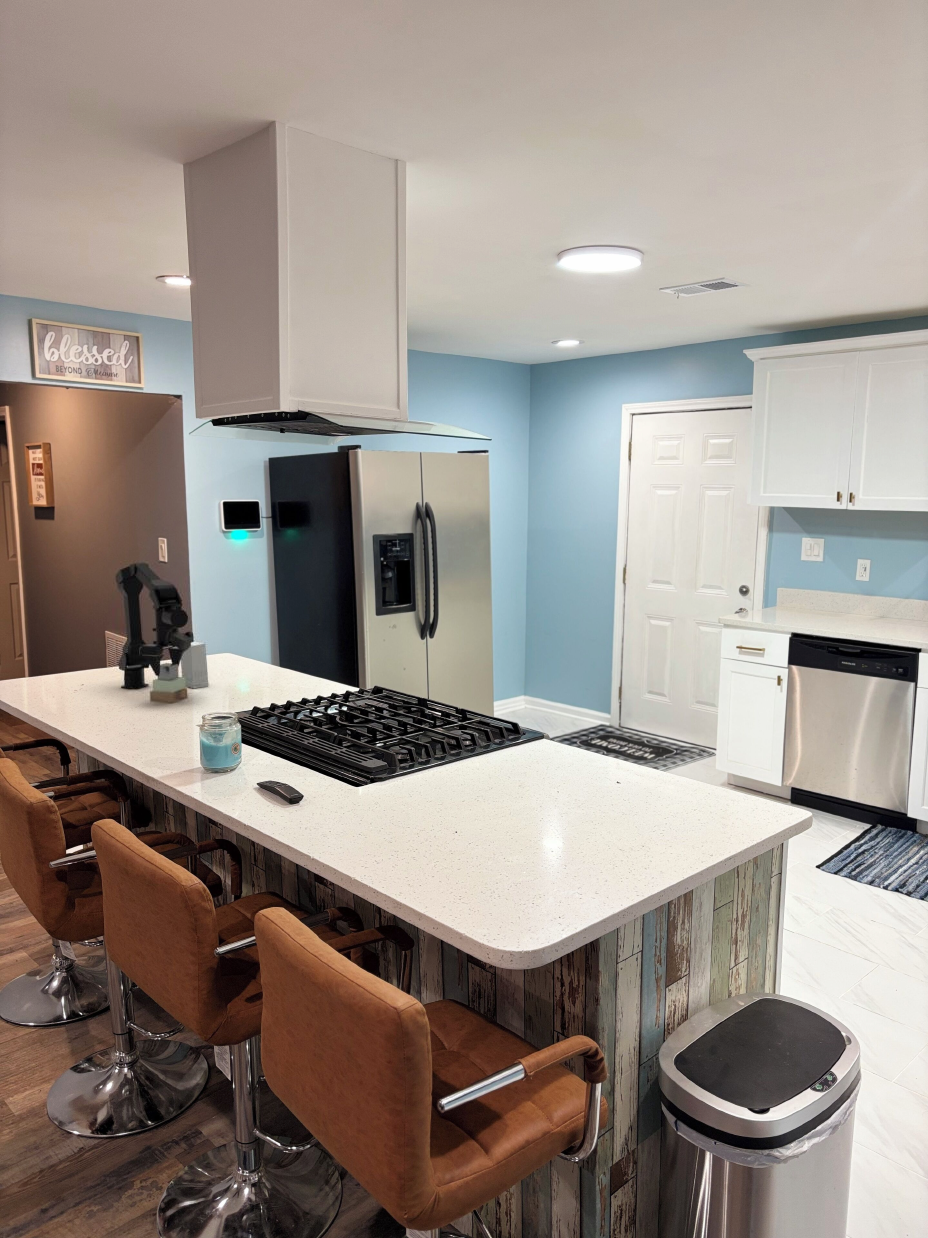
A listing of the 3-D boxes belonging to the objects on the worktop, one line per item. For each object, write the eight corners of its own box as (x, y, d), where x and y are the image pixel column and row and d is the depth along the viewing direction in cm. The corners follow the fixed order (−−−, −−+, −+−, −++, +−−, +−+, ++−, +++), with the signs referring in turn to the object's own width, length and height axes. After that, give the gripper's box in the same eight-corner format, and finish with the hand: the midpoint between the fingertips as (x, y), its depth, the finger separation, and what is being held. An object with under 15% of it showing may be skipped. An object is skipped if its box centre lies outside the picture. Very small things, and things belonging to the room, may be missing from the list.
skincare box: (208, 686, 304) (207, 643, 302) (192, 689, 300) (190, 645, 298) (197, 682, 310) (195, 640, 308) (180, 685, 306) (178, 642, 304)
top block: (166, 686, 289) (166, 675, 289) (185, 688, 287) (185, 677, 287) (153, 691, 283) (152, 680, 282) (172, 692, 281) (171, 681, 280)
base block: (166, 697, 290) (165, 686, 290) (187, 698, 288) (187, 688, 287) (150, 702, 283) (149, 691, 282) (172, 704, 280) (171, 693, 280)
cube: (166, 676, 287) (166, 663, 287) (178, 677, 286) (178, 664, 285) (157, 679, 283) (157, 665, 283) (169, 680, 282) (169, 666, 281)
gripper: (168, 629, 271) (170, 680, 273) (204, 621, 288) (206, 669, 290) (137, 627, 274) (139, 678, 276) (174, 619, 292) (176, 667, 294)
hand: (166, 673), depth 284 cm, fingers open, 9 cm apart
